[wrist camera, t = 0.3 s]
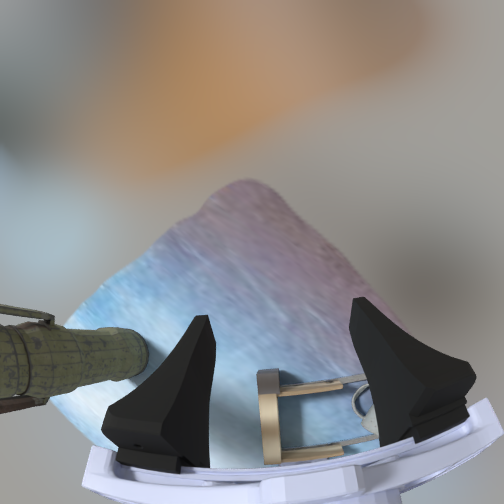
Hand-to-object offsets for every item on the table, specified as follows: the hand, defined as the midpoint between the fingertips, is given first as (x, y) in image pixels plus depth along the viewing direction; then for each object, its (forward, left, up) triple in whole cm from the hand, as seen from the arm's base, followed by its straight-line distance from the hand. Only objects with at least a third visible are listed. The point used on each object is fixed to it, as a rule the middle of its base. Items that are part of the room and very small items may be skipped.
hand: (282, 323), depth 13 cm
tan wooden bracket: (-15, -2, -29) cm, 32 cm away
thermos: (-4, +27, -29) cm, 40 cm away
